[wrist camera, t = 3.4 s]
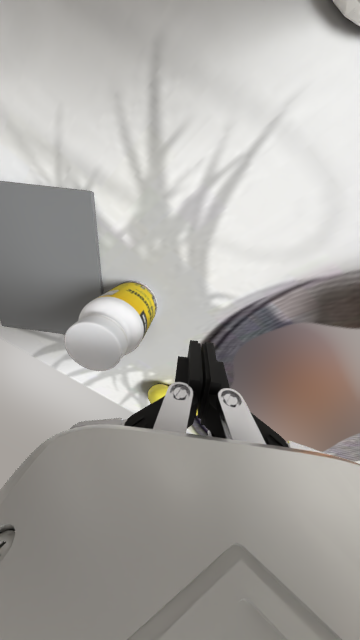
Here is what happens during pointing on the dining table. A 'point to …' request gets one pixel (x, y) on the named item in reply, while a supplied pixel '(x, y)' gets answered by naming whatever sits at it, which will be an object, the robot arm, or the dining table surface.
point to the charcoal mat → (47, 256)
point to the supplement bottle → (111, 326)
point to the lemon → (157, 392)
